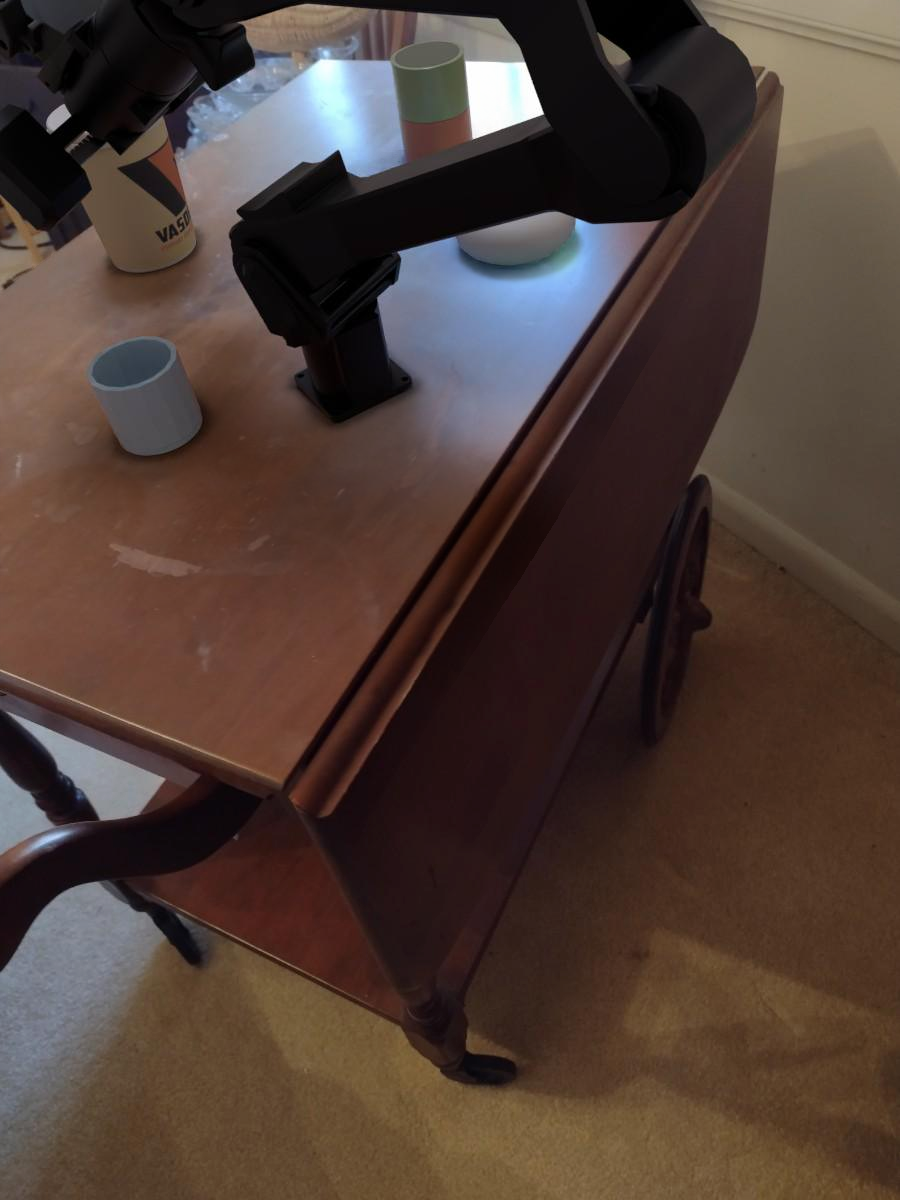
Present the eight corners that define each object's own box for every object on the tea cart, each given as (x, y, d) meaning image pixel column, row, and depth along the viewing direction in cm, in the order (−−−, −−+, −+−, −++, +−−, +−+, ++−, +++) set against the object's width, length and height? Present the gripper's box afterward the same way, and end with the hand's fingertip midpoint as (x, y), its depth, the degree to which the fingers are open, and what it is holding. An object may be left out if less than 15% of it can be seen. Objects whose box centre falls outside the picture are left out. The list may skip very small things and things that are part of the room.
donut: (539, 285, 71) (597, 221, 76) (537, 244, 68) (597, 181, 73) (433, 261, 75) (494, 202, 80) (427, 221, 73) (490, 163, 77)
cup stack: (487, 156, 86) (478, 51, 79) (429, 180, 84) (414, 75, 78) (449, 135, 90) (438, 34, 83) (392, 158, 88) (376, 56, 82)
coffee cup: (182, 278, 78) (128, 133, 69) (85, 278, 80) (20, 137, 71) (221, 223, 84) (176, 82, 75) (129, 224, 86) (75, 87, 77)
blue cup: (216, 430, 64) (189, 364, 59) (135, 468, 62) (103, 402, 58) (184, 390, 67) (157, 325, 63) (107, 425, 65) (75, 360, 61)
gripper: (130, -160, 54) (47, -8, 66) (-93, -5, 45) (-140, 137, 57) (266, 14, 59) (167, 126, 71) (89, 182, 51) (11, 277, 63)
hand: (59, 161), depth 65 cm, fingers open, 9 cm apart
